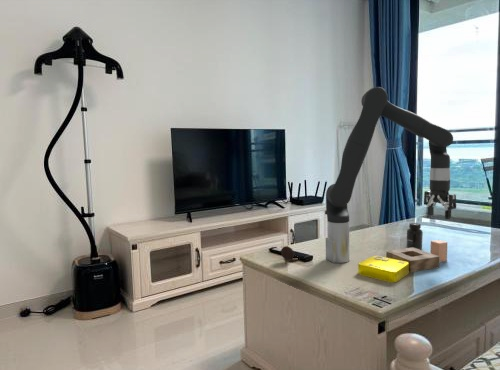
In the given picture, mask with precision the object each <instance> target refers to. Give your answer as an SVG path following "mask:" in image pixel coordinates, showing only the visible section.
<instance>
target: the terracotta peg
mask: <svg viewBox="0 0 500 370" xmlns="http://www.w3.org/2000/svg"><path fill="white" fill-rule="evenodd" d="M429 253H431V254H434V255H437V256H439V263H441V262H442V261H443V262H447V261H448V242H447V241H445V240H440V239H436V240H430V252H429ZM443 262H442V263H443Z"/></svg>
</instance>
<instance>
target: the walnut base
mask: <svg viewBox="0 0 500 370" xmlns="http://www.w3.org/2000/svg"><path fill="white" fill-rule="evenodd" d="M385 254H386V256H385V257H386V258H391V259H396V260H400V261H405V262H408V263H409V273H413V272H419V271H420V272H421V271H427V270H432V269H437V267H438V268H440V262H439V256H437V255H434V254H431V253H430V252H428V251H425V250H423V249H421V250H419V249H417V248H414V247H412V248H407V247H405V248H399V249H393V250H388V251H387V250H386V251H385ZM431 268H432V269H431Z"/></svg>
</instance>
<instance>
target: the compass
mask: <svg viewBox="0 0 500 370" xmlns="http://www.w3.org/2000/svg"><path fill="white" fill-rule="evenodd" d="M280 254H281V256H282V258H283V259H284V260H285V261H286V262H290V263H291V262H292V263H295V262H299V260H298V258H293V257H294V255H295V252H294V250H293V248H291V247H290V246H288V245H287V246H283V247H282V248H281V250H280Z"/></svg>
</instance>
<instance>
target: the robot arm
mask: <svg viewBox="0 0 500 370" xmlns="http://www.w3.org/2000/svg"><path fill="white" fill-rule="evenodd" d="M361 106H362V109H361V112H360V115H359V117H358V119H357V122H356V123H355V125H354V126H353V128H352V130H351V131H350V135H349V136H348V138H347V141H346V143H345V145H344V149H343V151H342V155H341V156H342V157H341V161H340V170H339V174H338V176H337V178H336V181H335V182H334V183H332V184H331V185H329V186H328V187H327V189H326V192H325V210H326V211H325V212H326V219H327V221H326V223H327V228H326V229H327V237H325V259H326V260H328V261H330V263H333V264H334V263H337V264H339V263H340V264H342V263H348V262H349V261H350V213H349V211H348V204H349V202H350V201H351V198H352V196H353V190H354V187H355V184H356V180H357V177H358V175H359V173H360V170H361V169H362V166H363V163H364V161H365V158H366V156H367V153H368V151H369V148H370V145H371V142H372V139H373V137H374V133H375V130H376V127H377V124H378V121H379V119H380V118H381V117H383V118H385V119H388V120H390V121H391V122H393V123H395V124H396V125H398V126H400V127H401V128H403V129H405V130H407V131H408V132H410V133H412V134H414V135H415V136H417V137H419V138H423V139H426V140H428V148H429V153H430V154H429V155H430V170H429V171H430V172H429V190H427V191H424V192H423V193H424V194H423V195H424V196H423V205H424V206H425V205H426V206H427V215H428V216H430V217H431V216H432V217H433V216H434V211H435V209H434V205H435V204H441V205H442V206H443V208H444V219H445V220H451V218H452V210H456V209H457V194H454V193H452V194H451V193H450V192H449V191H450V190H451V169H450V168H451V166H450V165H451V157H450V155H449V154H448V151H447V150H448V149H447V147H449V146H451V145H452V143H453V142H454V135H453V134H452V133H451V132H450V130H448V129H446V128H444V127H442V126H439V125H438V124H437V125H436V124H435V123H432V122H430V121H428V120H427V119H425V118H423V117H422V116H420V115H418V113H417V114H416V113H415V112H412V111H410V110H408V109H404V108H401V107H399V106H397V105H395V104H393V103H391V102H390V101H389V98H388V93H387V91H386V90H385V88H383V87H380V86H376V87H371V88H370V89H369V90H367V91H366V92H365V93H364V94H363V95H362V97H361Z"/></svg>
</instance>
